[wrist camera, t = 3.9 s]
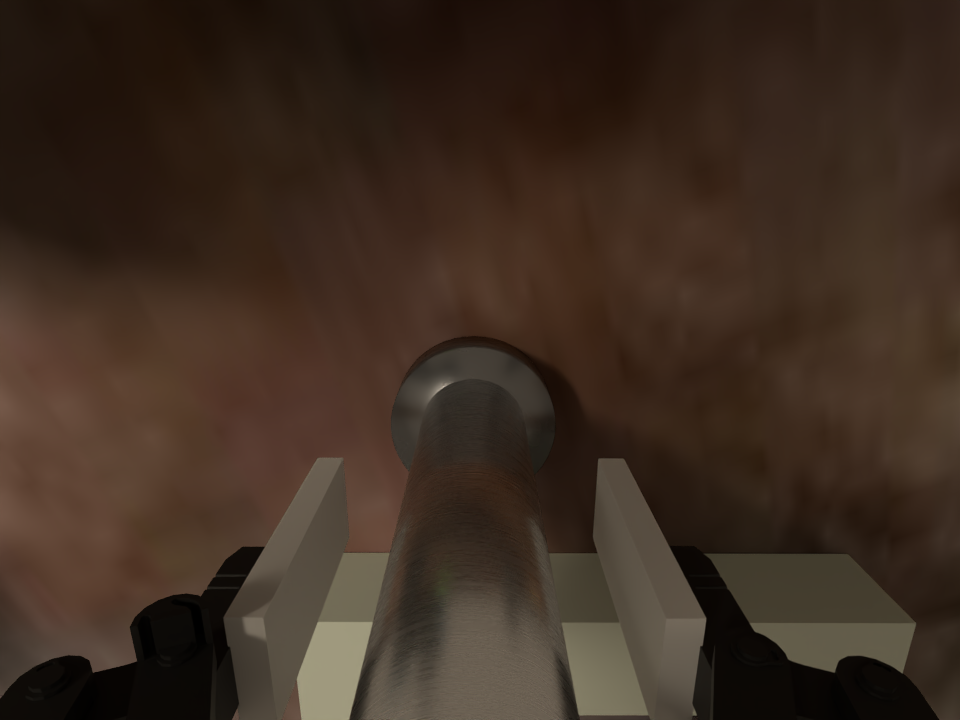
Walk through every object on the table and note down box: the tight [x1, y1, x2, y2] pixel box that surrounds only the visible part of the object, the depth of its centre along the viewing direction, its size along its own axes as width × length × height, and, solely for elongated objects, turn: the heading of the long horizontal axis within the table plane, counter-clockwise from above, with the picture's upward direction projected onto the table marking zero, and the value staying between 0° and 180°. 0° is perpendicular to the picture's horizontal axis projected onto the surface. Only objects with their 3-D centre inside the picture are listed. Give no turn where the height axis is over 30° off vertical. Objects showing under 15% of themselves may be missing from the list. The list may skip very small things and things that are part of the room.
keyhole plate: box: [297, 553, 916, 720], centre depth 26 cm, size 24×14×4 cm, turn 90°
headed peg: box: [349, 336, 580, 720], centre depth 15 cm, size 6×6×18 cm
